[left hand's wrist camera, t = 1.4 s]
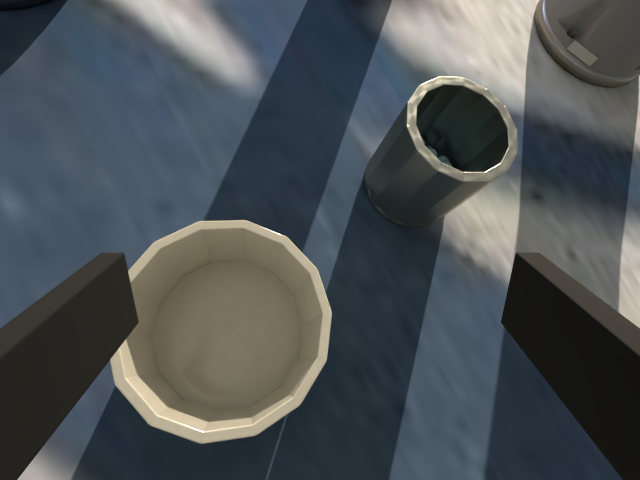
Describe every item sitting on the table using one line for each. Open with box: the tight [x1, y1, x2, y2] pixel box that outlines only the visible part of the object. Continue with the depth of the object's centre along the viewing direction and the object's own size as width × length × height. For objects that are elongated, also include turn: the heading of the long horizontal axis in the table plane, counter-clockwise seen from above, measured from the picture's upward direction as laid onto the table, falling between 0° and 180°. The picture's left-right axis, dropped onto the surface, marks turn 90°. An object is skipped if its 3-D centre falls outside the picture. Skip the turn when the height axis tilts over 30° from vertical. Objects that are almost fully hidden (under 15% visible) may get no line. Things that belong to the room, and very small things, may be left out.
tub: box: [110, 220, 332, 444], centre depth 25 cm, size 12×12×9 cm
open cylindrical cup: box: [364, 76, 518, 228], centre depth 31 cm, size 9×9×10 cm
